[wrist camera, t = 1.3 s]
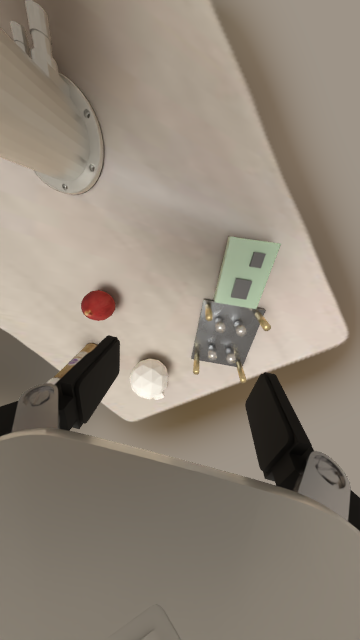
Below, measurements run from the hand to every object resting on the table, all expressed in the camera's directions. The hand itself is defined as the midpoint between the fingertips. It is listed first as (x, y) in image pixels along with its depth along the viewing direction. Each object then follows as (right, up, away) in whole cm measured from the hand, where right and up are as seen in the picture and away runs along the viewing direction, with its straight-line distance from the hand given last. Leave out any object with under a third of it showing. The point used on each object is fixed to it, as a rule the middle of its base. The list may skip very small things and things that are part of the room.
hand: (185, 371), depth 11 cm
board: (+10, +11, +16) cm, 22 cm away
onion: (-16, +8, +25) cm, 30 cm away
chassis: (+9, 0, +25) cm, 27 cm away
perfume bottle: (-7, -10, +33) cm, 35 cm away
